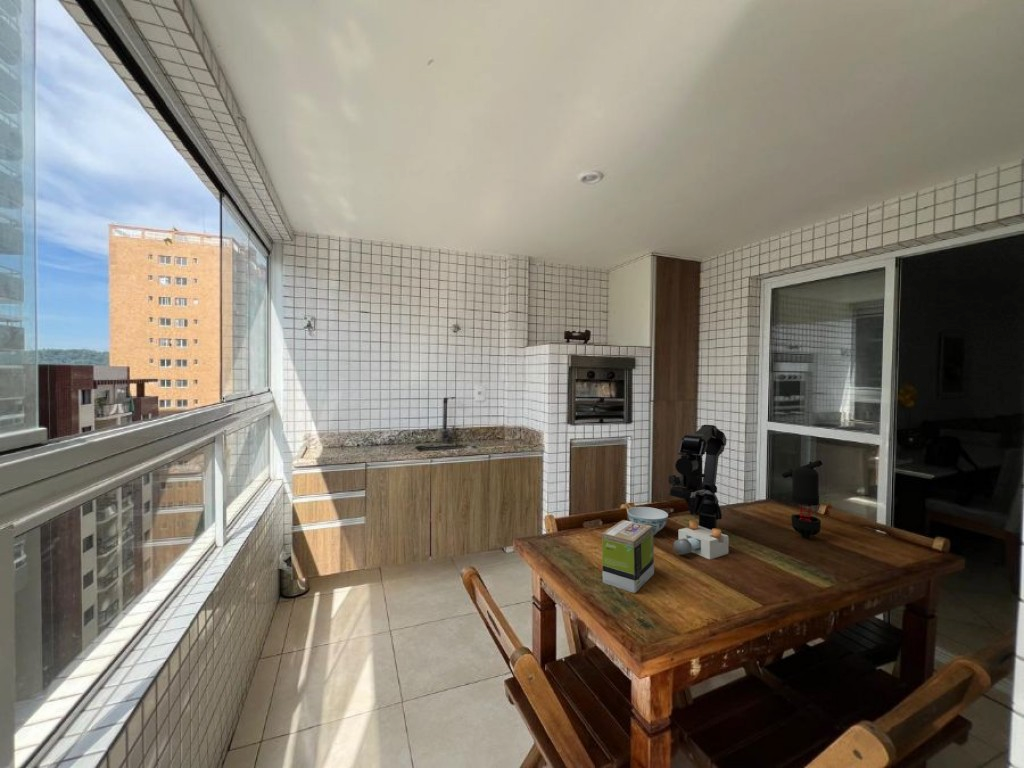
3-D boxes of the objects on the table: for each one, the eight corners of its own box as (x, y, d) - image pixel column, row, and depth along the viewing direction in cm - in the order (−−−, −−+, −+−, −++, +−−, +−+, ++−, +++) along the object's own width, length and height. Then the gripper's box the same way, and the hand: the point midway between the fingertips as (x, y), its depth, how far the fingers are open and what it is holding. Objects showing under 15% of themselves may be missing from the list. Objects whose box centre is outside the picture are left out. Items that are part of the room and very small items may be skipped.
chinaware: (661, 543, 143) (661, 521, 143) (621, 533, 152) (621, 513, 152) (672, 531, 155) (672, 511, 155) (635, 523, 164) (635, 504, 164)
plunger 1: (692, 527, 144) (692, 520, 144) (699, 529, 141) (699, 522, 141) (687, 528, 142) (687, 521, 142) (694, 530, 140) (694, 523, 140)
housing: (696, 541, 145) (696, 524, 145) (728, 553, 134) (728, 535, 134) (678, 546, 140) (678, 529, 140) (709, 559, 130) (709, 541, 130)
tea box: (623, 565, 125) (623, 518, 125) (654, 574, 119) (655, 525, 119) (601, 583, 114) (601, 531, 114) (635, 595, 107) (635, 540, 108)
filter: (829, 541, 146) (829, 459, 146) (815, 545, 142) (815, 461, 142) (789, 529, 158) (789, 454, 158) (776, 533, 154) (776, 455, 154)
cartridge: (704, 543, 141) (704, 530, 141) (716, 547, 137) (716, 534, 137) (673, 551, 134) (673, 538, 134) (685, 556, 129) (685, 542, 130)
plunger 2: (715, 535, 136) (715, 527, 136) (723, 537, 133) (723, 530, 133) (710, 536, 134) (710, 529, 135) (717, 539, 132) (717, 531, 132)
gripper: (691, 464, 153) (691, 504, 153) (657, 468, 144) (657, 511, 144) (718, 469, 144) (718, 512, 144) (683, 474, 135) (683, 520, 135)
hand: (693, 514), depth 142 cm, fingers closed
